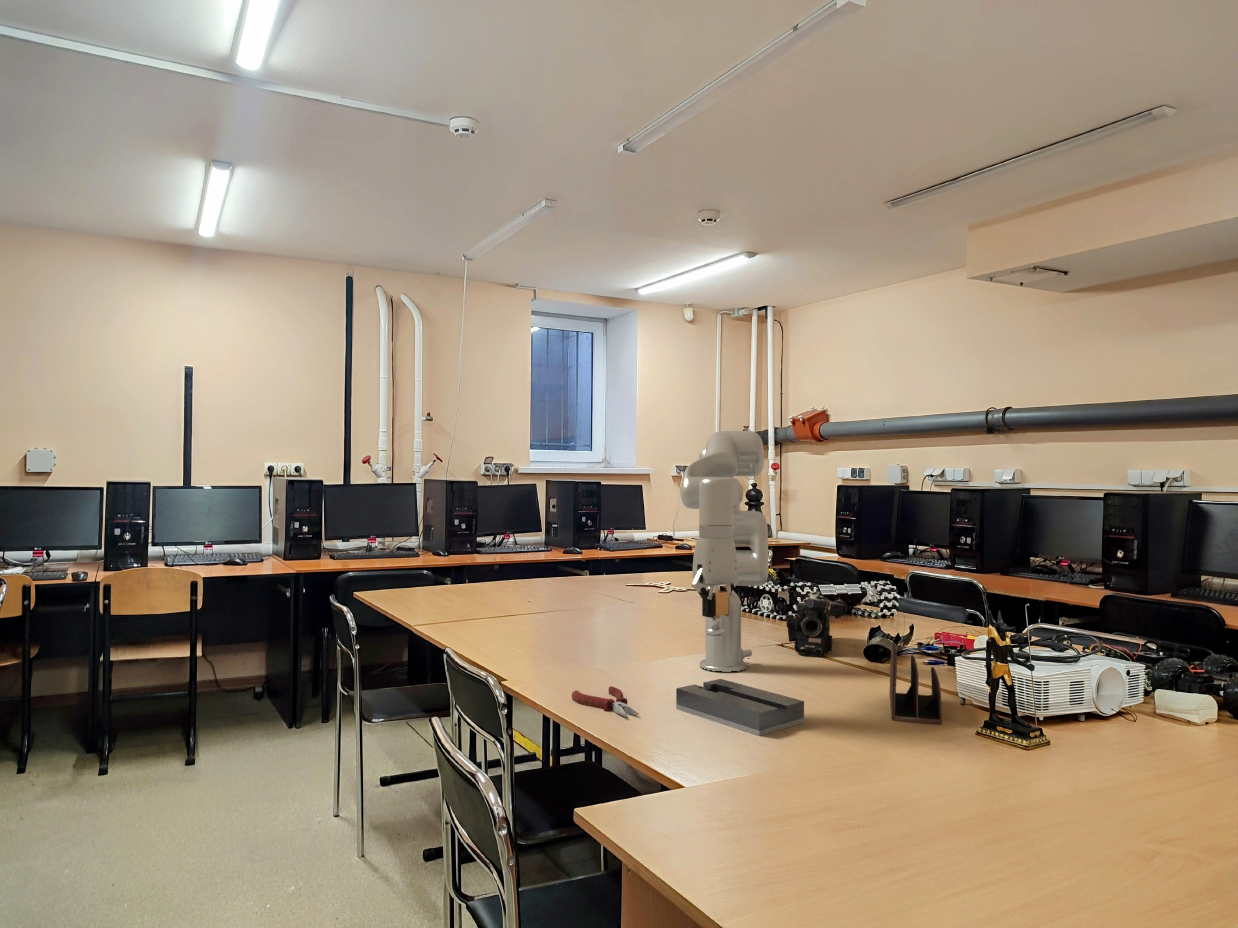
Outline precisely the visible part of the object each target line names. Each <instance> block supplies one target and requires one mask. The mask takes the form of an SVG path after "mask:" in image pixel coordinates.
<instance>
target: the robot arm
mask: <svg viewBox="0 0 1238 928" xmlns="http://www.w3.org/2000/svg"><path fill="white" fill-rule="evenodd" d="M764 454H765V451H764V443H763V440H762V438H761V436H760V435H759V434H758V433H757V432H756V431H752V430H721V431H716V432H714V433H712V434H711V435H710V436H709V437H708V439H707V441H706V445H705V447H703V448H702V449H701V450H700V452H699V455H698V459H697V460H696V461H694V462H692V463H690V464H689V465H688V466H687V467H686V469H685V470H684V471H683V472H684V473H683V476H682V481H681V486H680V499H681V502H682V504H683V506H685V507H686V508H688V509H692V510H699V511H698V515H699V517H698V536H699V537H698V539H696V541H695V545H694V551H693V558H692V559H693V560H692V573H691V574H692V575H691V576H692V583H691V588H693V589H694V590H695V591H696V592H697V593H698V594H699V598H700V599H701V600H702V601H701V606H702V607H701V608H702V609H701V612H702V613H701V616H702V617H705V659H702V660H700V662H699V667H700V668H701V667H702V668H701V669H703V668H704V669H703V670H705V669H707V670H706V671H709V670H712V671H711V672H715V671H722V672H721V673H732V672H731V671H737V672H742V671H744V669H745V670H746V669H747V667H748V665H747V662H746V661H744V659H745V658H748V657H752V656H753V651H752V650H751V649H749V648H748V649H742V604H741V603H742V602H741V599H740V597H739V595H738V594H737V593H736V592H735V591H734V589H735V588H736V586H739V587H740V586H741V587H742V586H743V587H760V586H763V585H765V584H766V583H767V581H768V577H769V532H768V531H769V530H768V521H767V518H766V515H764V513H762V512H760V511H757V510H741V503H742V502H743V499H744V488H743V487H744V486H743V485H742V484H741V482H740V481H739V479H737V478H736V477H757V476H759V475H760V474H761V473H762V471H763V469H764V465H765V463H764V462H765V457H764V456H765V455H764ZM736 546H738V547H739V546H744V547H745V546H747V547H749V548H750V549H751V550H745V549H744V550H743V549H741V550H739V549H737V548H736ZM713 590H721V591H728V592H729V614H727V615H720V628H724V629H725V635H723V636H710V635H707V628H710V627H712V618H713V617H714V599H712V597H713ZM741 670H742V671H741Z"/></svg>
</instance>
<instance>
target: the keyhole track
mask: <svg viewBox="0 0 1238 928" xmlns="http://www.w3.org/2000/svg"><path fill="white" fill-rule="evenodd" d="M702 685H703V686H701V685H698V684H691V685H690V684H689V685H686V686H685V685H684V686H681V687H677V688H676V690H675V691H676V692H675V693H676V694H675V697H676V699H675V701H676V702H675V703H676V704H675V707H676V710H679V711H681V710H682V712H685V713H689V714H692V715H694V716H698V717H700V718H703V719H707V720H709V721H712V722H716V723H719V724H722V725H724V726H727V727H731V728H734V729H737V730H740V731H743V732H747V733H749V734H751V735H752V734H753V735H756V736H759V737H760V736H763V735H764V736H765V735H767V734H771V733H774V732H777V731H780V730H781V731H782V730H785V729H788V728H792V727H794V726H798V725H801V724H804V723H805V700H803V699H802V700H801V699H797V698H793V697H789V696H787V695H783V694H779V693H775V692H771V691H768V690H764V689H761V688H756V687H752V686H748V685H745V684H741V683H739V682H738V683H737V682H734V681H730V680H726V679H723V678H717V679H712V680H709V681H705V682H703V683H702Z"/></svg>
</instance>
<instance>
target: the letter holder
mask: <svg viewBox="0 0 1238 928" xmlns="http://www.w3.org/2000/svg"><path fill="white" fill-rule="evenodd" d="M890 645H891V647H890V663H889V665H890V666H889V668H890V669H889V691H888V693H889V702H890V703H889V704H890V711H891V721H895V722H903V723H905V722H906V723H914V724H915V723H916V724H917V723H918V724H926V725H939V726H942V724H943V717H942V716H943V714H942V691H941V683H940V679H939V676H938V674H937V670H936V668H935V667H934V666H932V667H930V674H931V675H930V677H931V678H930V679H931V694H930V695H928V694H927V695H926V694H925V695H924V694H919V682H920V681H919V680H920V677H919V671H918V664H917V661H916V657H915V656H914V655H910V686H909V688H908V690H907V691H906V693H902V692H897V671H898V670H897V669H898V654H897V647H896V643H895V642H894V641H891V644H890Z"/></svg>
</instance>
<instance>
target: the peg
mask: <svg viewBox="0 0 1238 928" xmlns="http://www.w3.org/2000/svg"><path fill="white" fill-rule="evenodd" d="M712 599H714V617H713V618H712V627H710V628H707V635H710V636H723V635H725V629H724V628H720V615H727V614H729V592H728V591H721V590H713V597H712Z"/></svg>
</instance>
